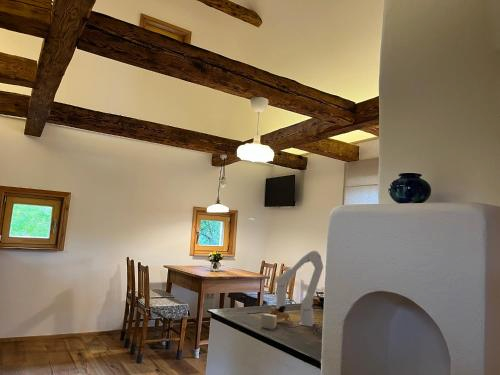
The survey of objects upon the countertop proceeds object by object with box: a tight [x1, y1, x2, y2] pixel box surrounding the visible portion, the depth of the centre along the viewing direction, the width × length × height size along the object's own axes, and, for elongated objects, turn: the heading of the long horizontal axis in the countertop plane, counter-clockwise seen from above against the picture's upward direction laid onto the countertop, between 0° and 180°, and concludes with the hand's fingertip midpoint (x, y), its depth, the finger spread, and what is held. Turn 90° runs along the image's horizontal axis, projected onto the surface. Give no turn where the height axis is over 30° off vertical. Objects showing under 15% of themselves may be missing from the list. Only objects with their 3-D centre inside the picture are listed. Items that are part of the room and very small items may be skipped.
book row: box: [260, 313, 278, 330], centre depth 216 cm, size 7×7×7 cm
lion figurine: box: [268, 306, 294, 326], centre depth 225 cm, size 15×5×9 cm, turn 74°
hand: (280, 318), depth 230 cm, fingers closed
